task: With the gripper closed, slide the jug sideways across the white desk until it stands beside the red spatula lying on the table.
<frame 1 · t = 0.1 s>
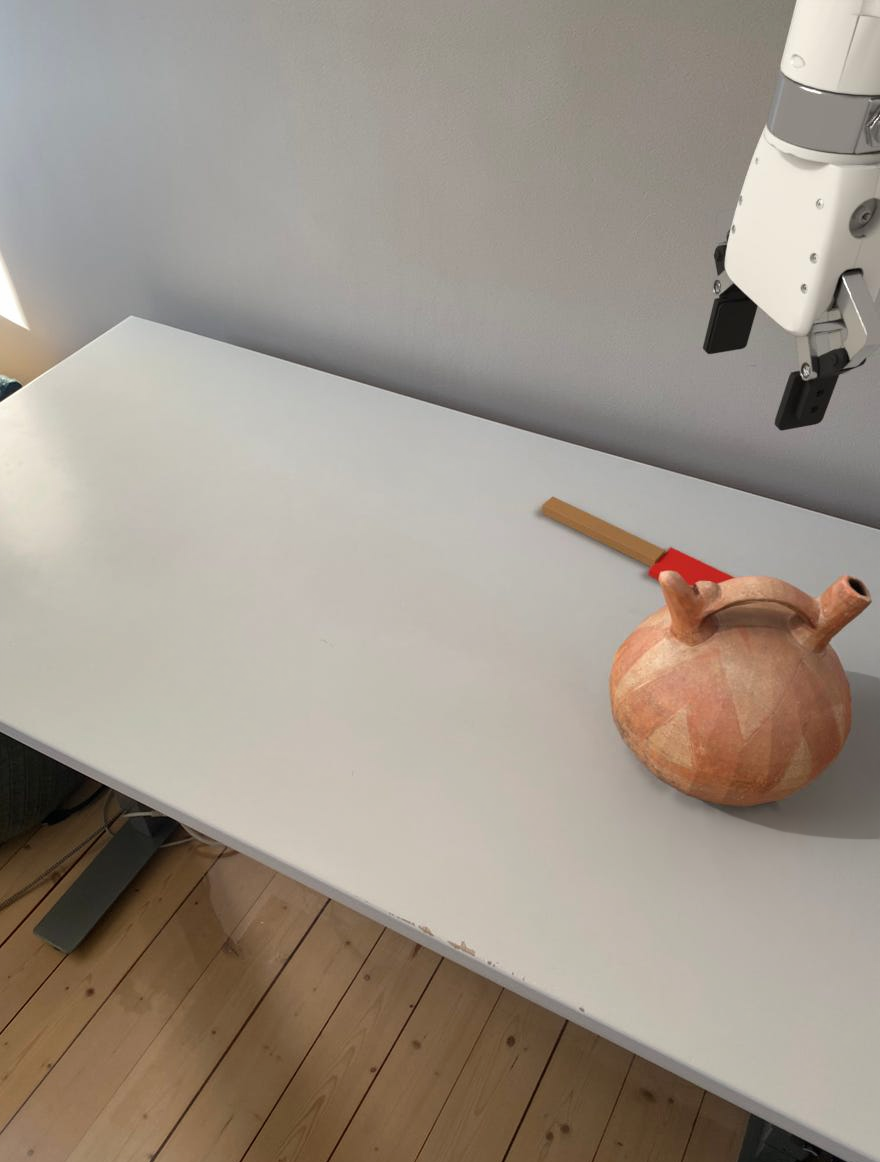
hand: (758, 385, 63), 30 cm above the table, tool pointing down, fingers open, 9 cm apart
jug: (705, 749, 80), on the table
spatula: (633, 551, 97), on the table
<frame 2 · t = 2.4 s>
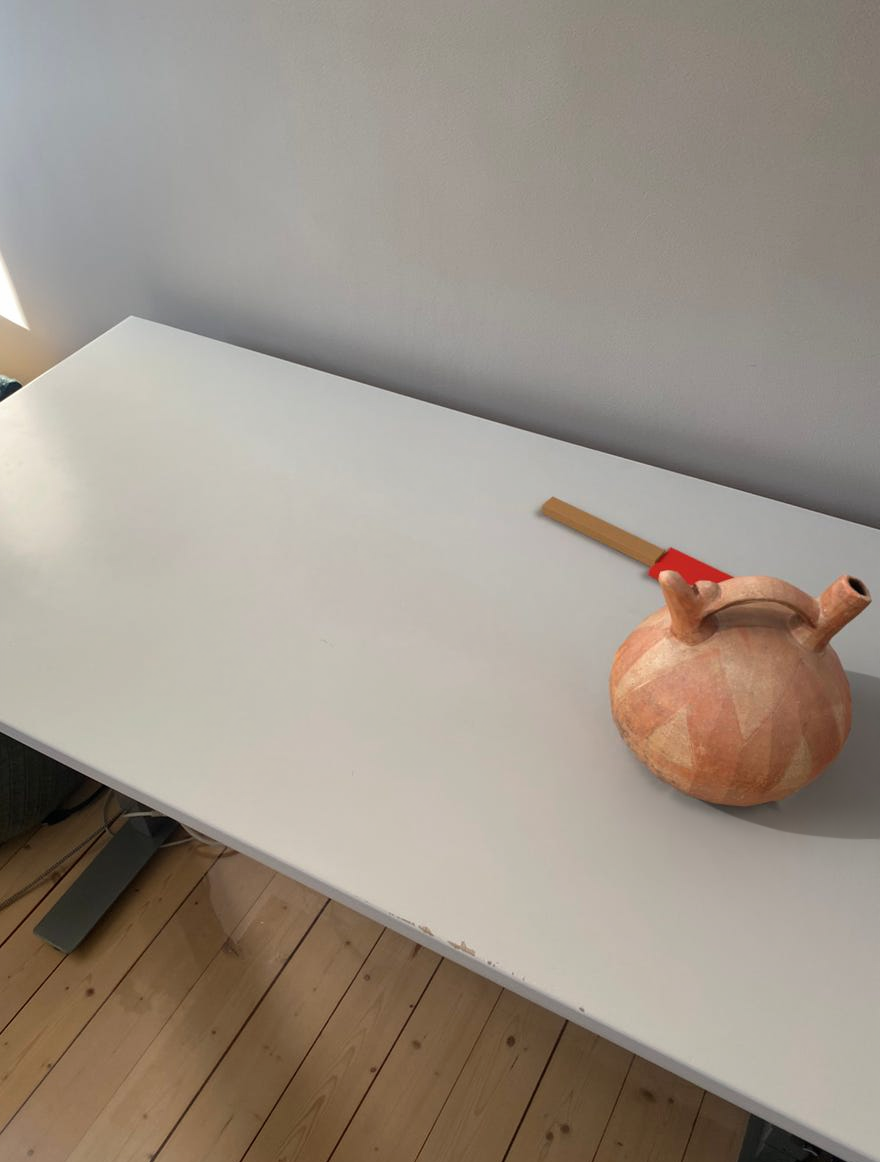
nothing on the table moved.
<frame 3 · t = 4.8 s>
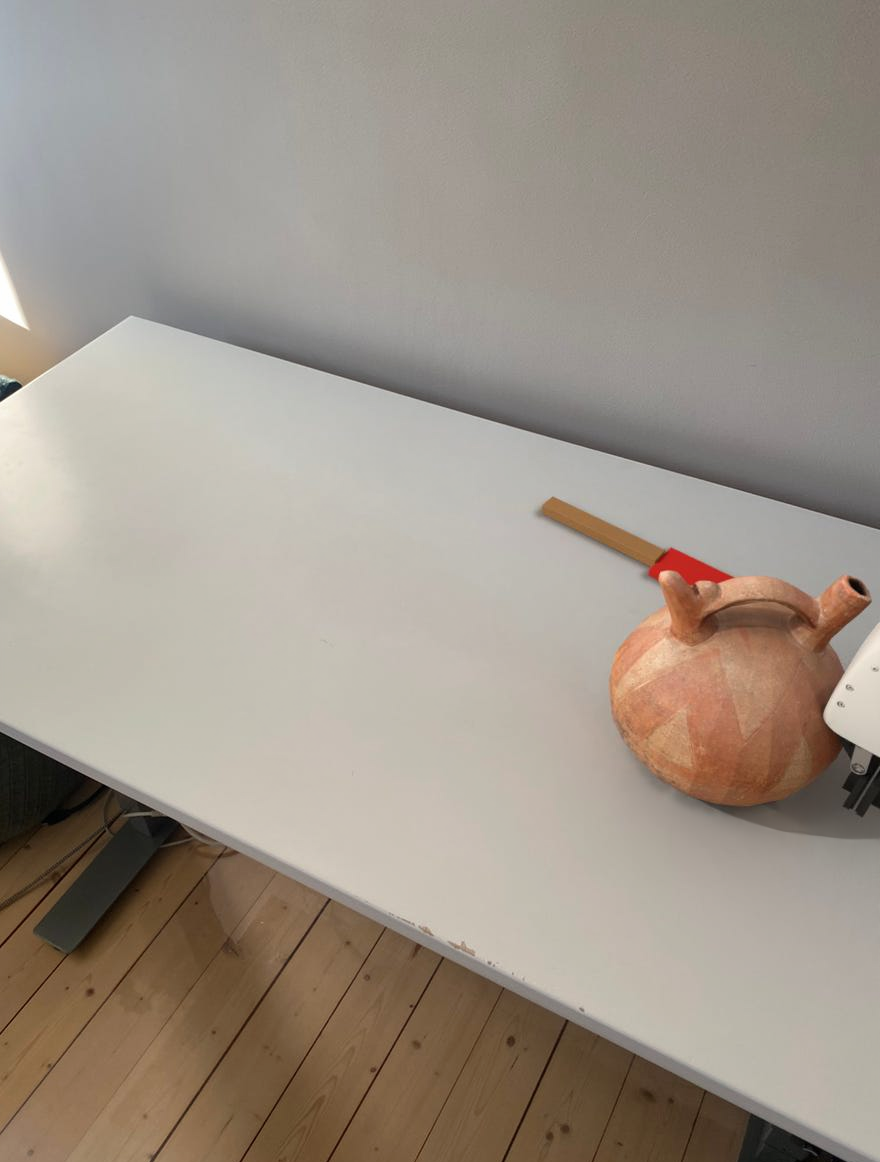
hand: (859, 799, 71), 4 cm above the table, tool pointing down, fingers closed
jug: (705, 749, 80), on the table, touching gripper
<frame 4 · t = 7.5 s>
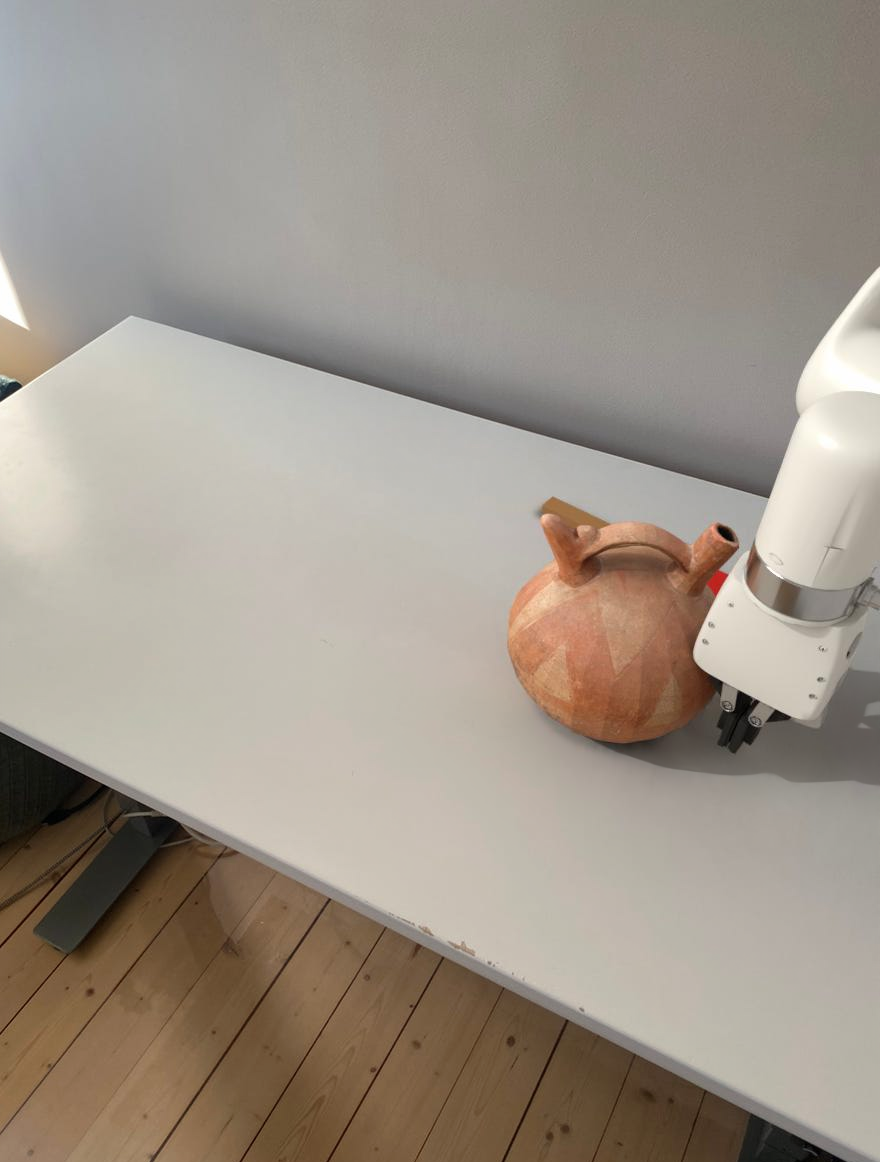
hand: (733, 738, 76), 4 cm above the table, tool pointing down, fingers closed
jug: (603, 694, 84), on the table, touching gripper
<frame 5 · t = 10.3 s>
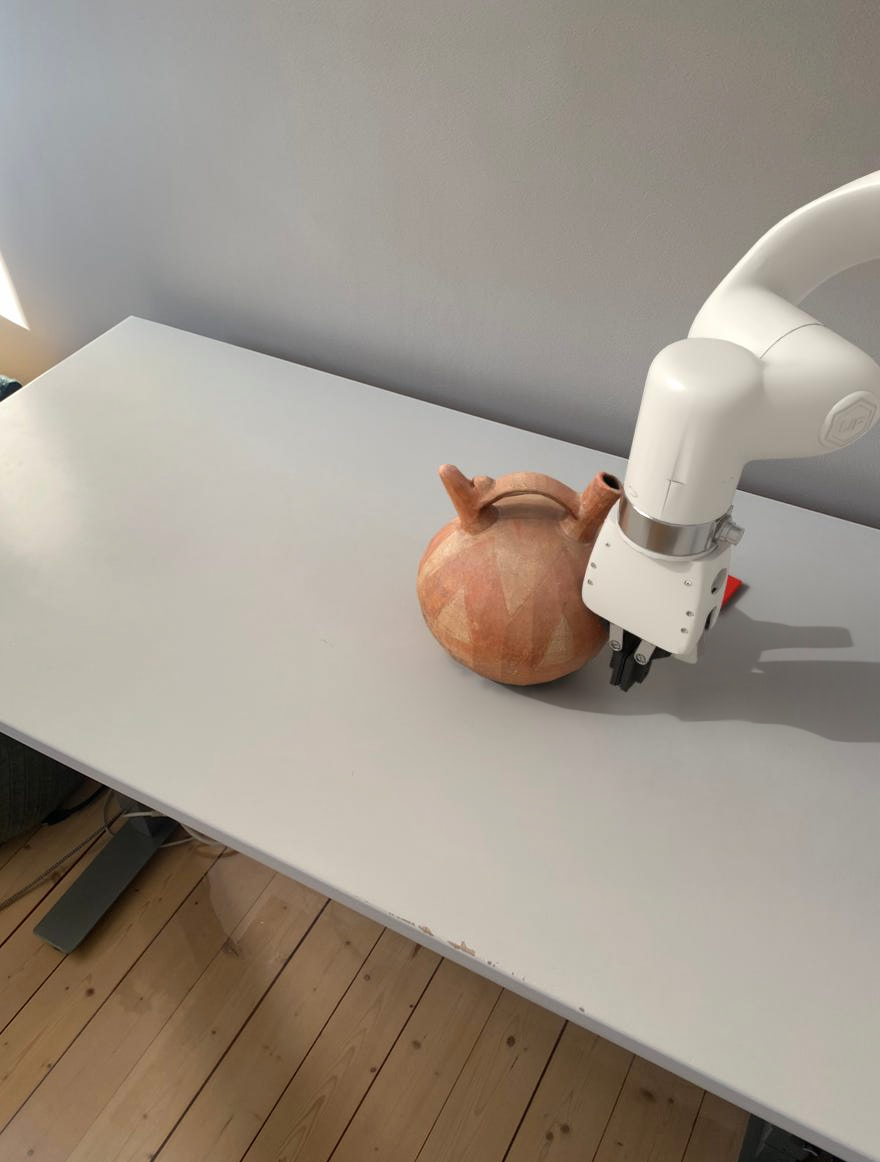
hand: (626, 678, 80), 4 cm above the table, tool pointing down, fingers closed
jug: (513, 643, 89), on the table, touching gripper
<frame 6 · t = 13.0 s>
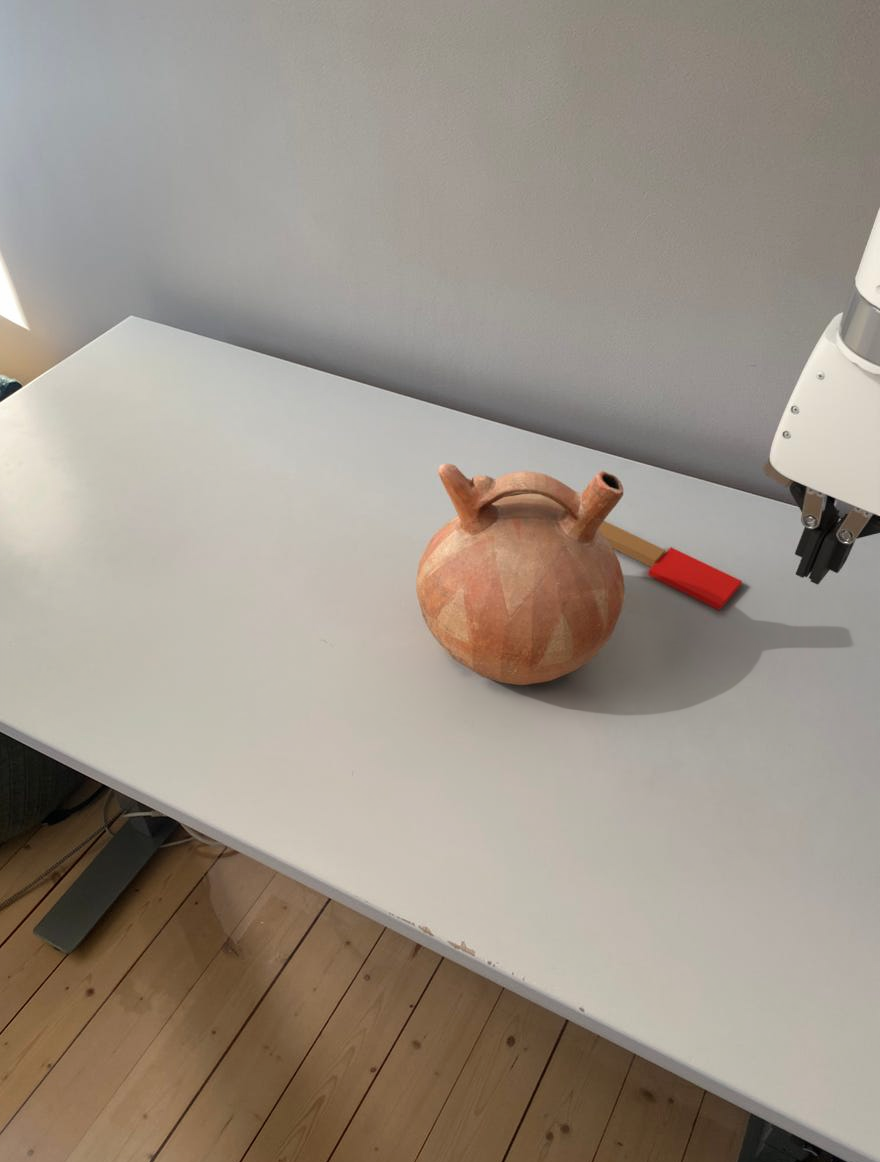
hand: (815, 568, 64), 21 cm above the table, tool pointing down, fingers closed
jug: (513, 643, 89), on the table
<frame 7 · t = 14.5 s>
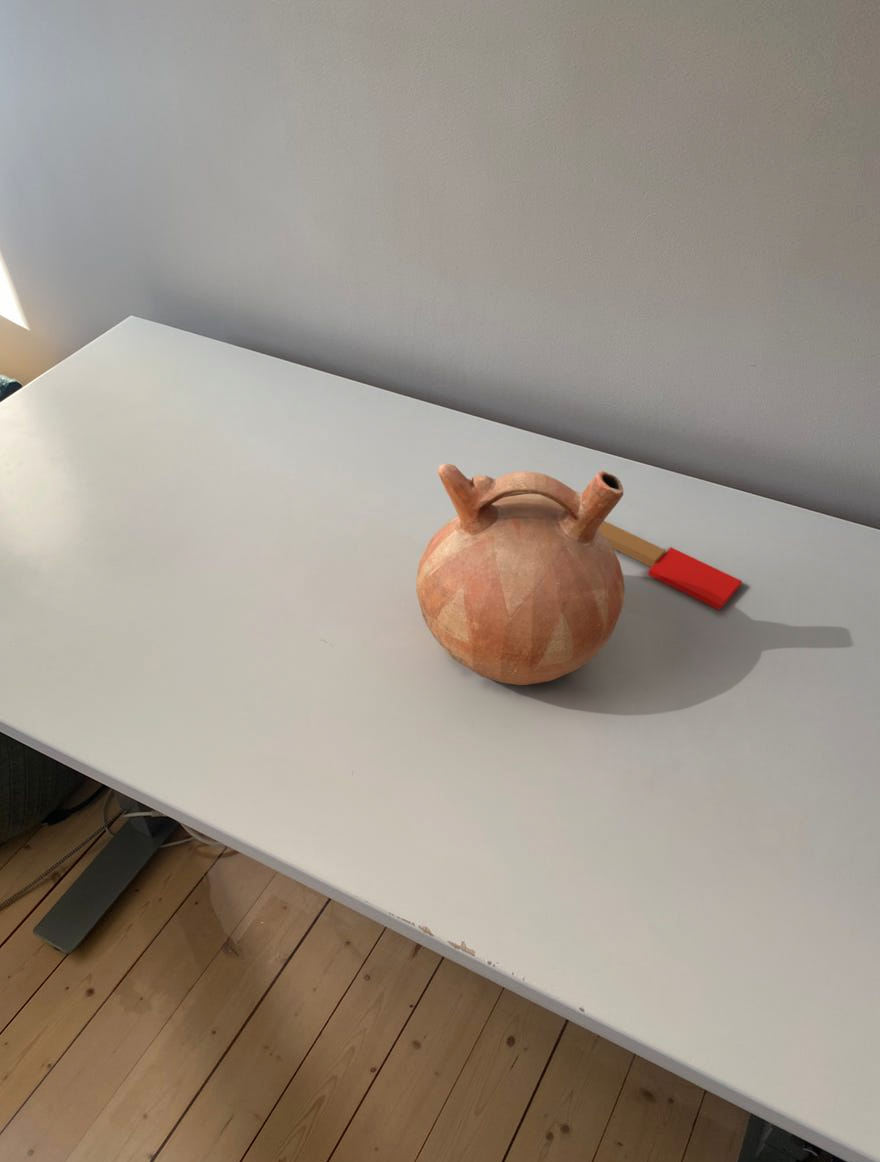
nothing on the table moved.
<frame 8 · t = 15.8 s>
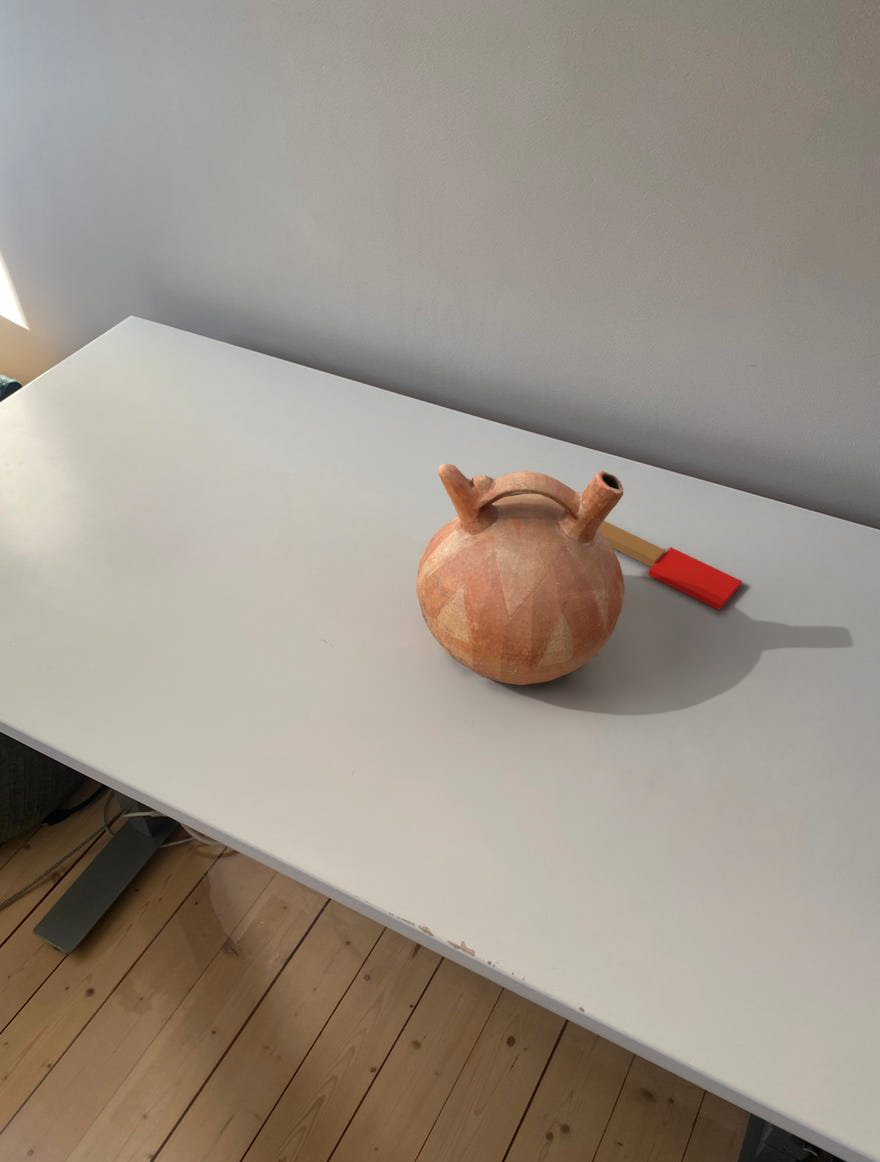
nothing on the table moved.
at the end: jug inside the target area (2.2 cm from its centre), on the table; jug 18.6 cm from the spatula (horizontally); jug tilted 0° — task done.
